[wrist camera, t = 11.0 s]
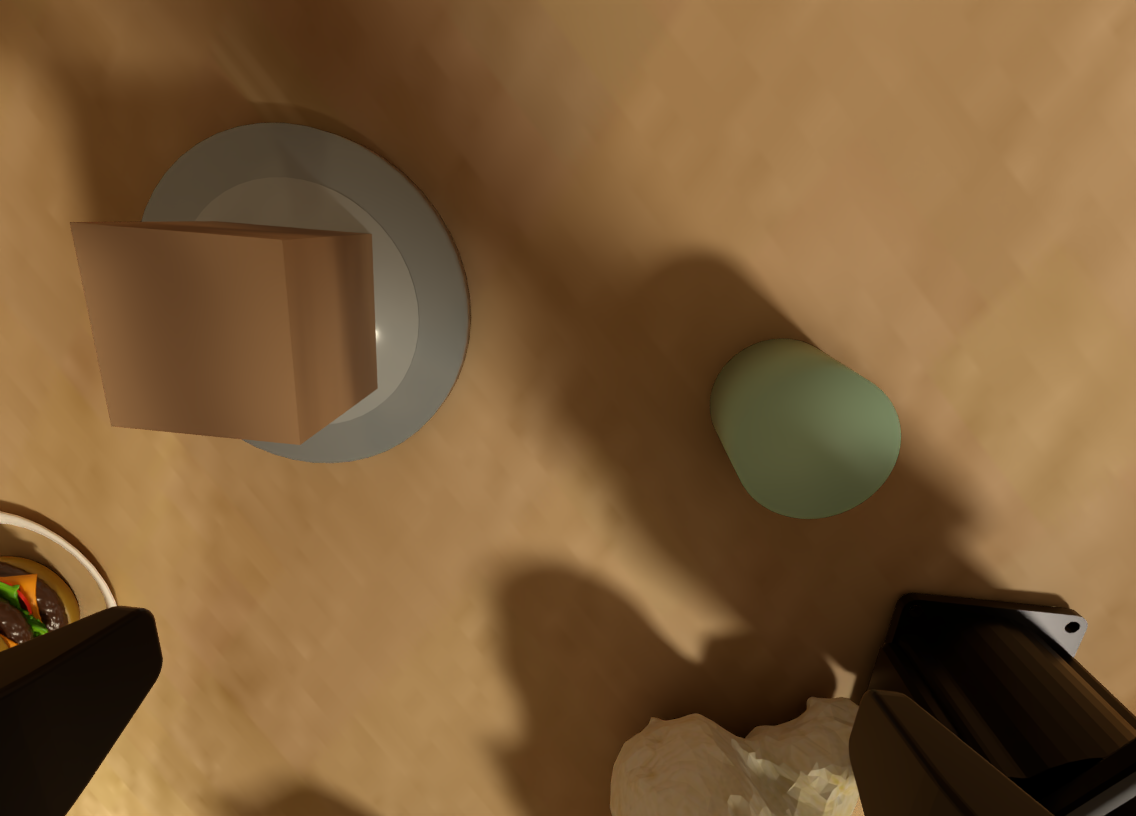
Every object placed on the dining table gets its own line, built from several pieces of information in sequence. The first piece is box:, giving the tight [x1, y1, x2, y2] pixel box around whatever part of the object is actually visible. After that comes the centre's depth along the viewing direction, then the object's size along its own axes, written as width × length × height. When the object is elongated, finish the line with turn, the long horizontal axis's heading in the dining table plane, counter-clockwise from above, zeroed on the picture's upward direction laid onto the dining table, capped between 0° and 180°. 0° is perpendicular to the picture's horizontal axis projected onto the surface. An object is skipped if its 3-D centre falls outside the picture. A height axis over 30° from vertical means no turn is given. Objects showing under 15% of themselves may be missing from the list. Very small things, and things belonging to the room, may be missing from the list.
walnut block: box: [70, 221, 378, 445], centre depth 16 cm, size 5×5×5 cm
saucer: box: [141, 123, 471, 463], centre depth 19 cm, size 11×11×1 cm
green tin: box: [710, 339, 901, 519], centre depth 17 cm, size 4×4×4 cm
